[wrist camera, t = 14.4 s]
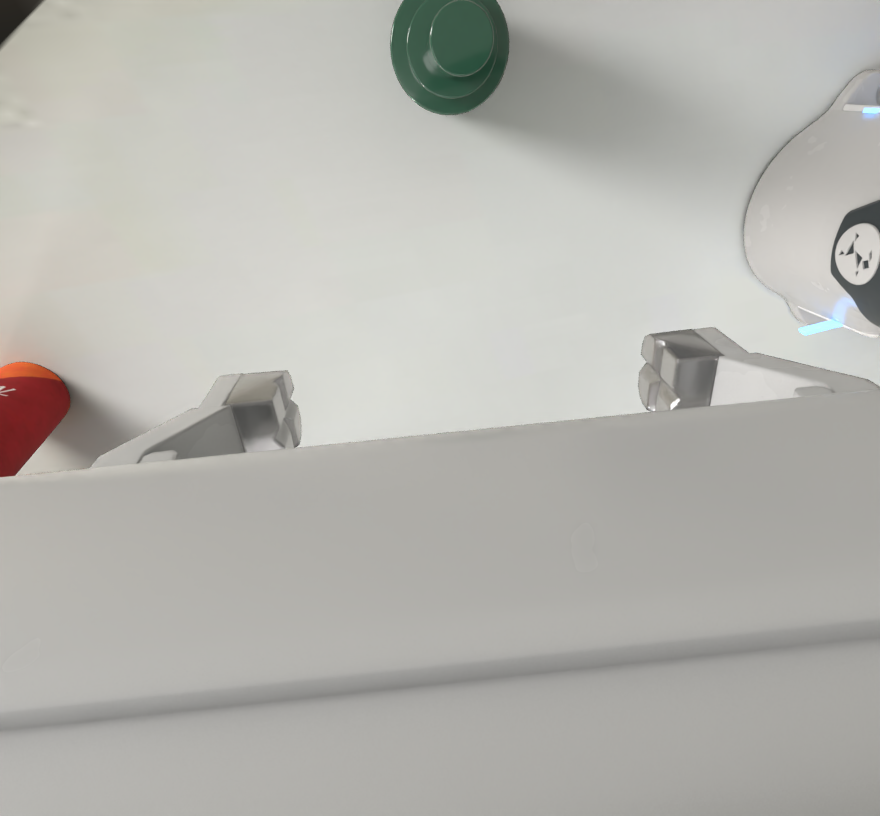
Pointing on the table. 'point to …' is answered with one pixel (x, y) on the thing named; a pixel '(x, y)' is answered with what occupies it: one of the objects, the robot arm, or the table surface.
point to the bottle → (449, 52)
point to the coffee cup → (27, 412)
